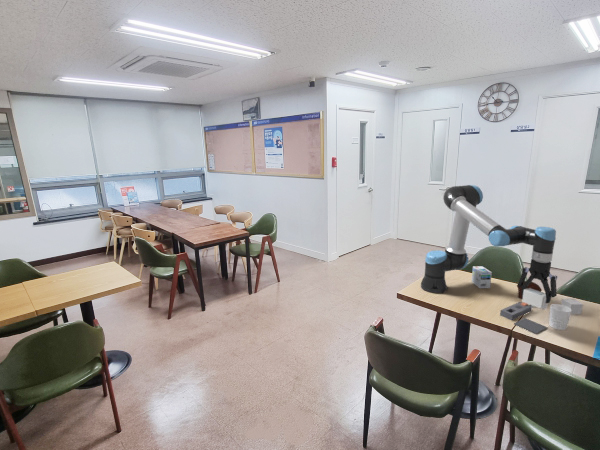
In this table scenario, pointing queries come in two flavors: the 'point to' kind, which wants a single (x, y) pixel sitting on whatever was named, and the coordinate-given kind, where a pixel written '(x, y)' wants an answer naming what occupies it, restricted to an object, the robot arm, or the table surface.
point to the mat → (530, 326)
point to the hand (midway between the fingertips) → (534, 304)
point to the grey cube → (573, 305)
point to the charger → (533, 298)
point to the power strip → (515, 310)
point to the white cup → (559, 316)
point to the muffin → (531, 285)
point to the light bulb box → (481, 277)
